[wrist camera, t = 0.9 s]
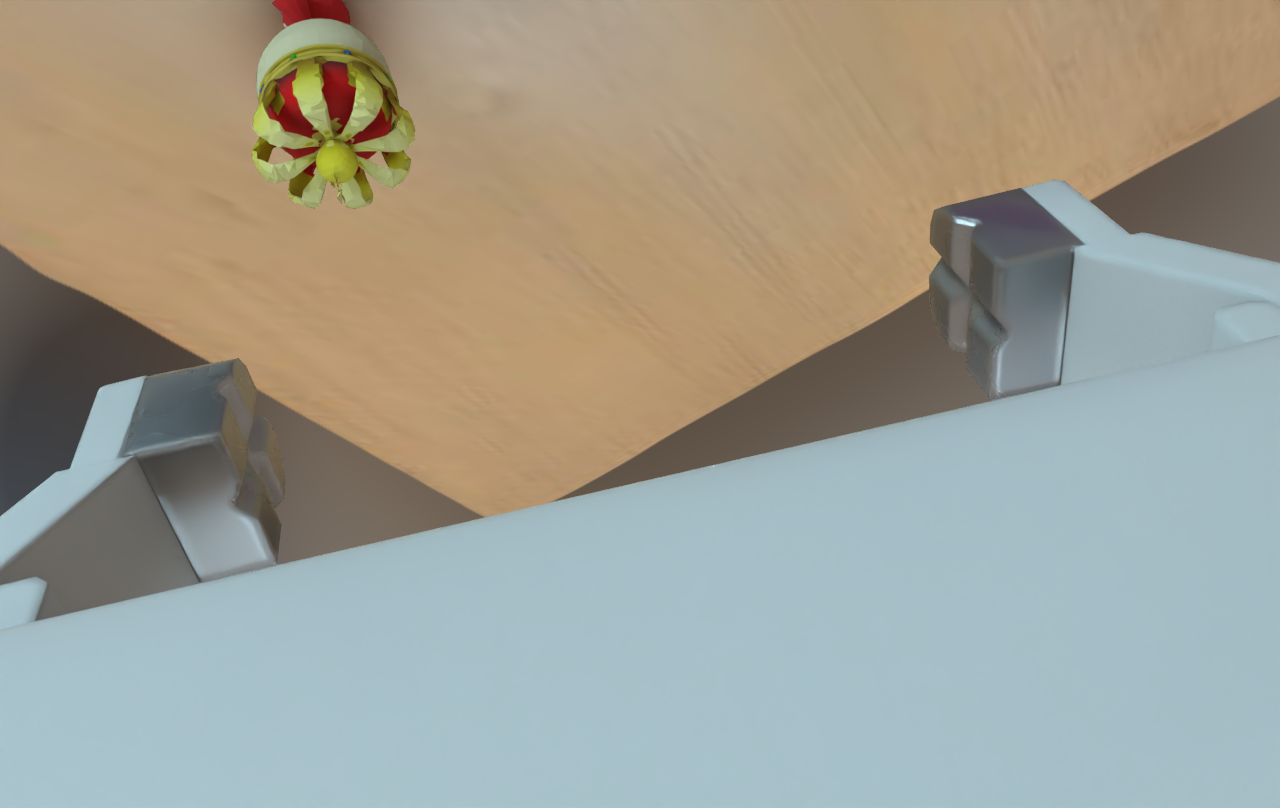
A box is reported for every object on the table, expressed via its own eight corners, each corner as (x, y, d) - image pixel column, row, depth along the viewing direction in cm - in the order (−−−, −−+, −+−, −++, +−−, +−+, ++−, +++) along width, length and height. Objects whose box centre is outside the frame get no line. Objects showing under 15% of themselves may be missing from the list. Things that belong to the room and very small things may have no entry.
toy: (209, -20, 55) (216, 186, 47) (332, -93, 54) (363, 105, 45) (301, 82, 61) (323, 282, 52) (414, 17, 60) (456, 212, 51)
